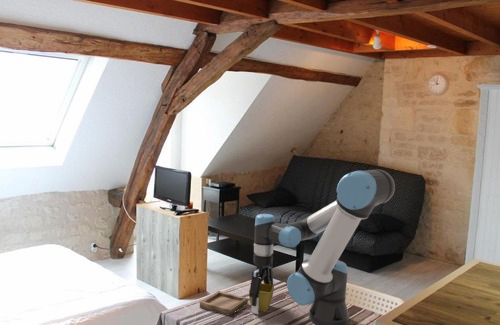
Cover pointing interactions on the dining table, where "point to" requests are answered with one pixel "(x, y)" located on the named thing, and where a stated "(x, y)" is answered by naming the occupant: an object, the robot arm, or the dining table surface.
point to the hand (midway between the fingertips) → (260, 308)
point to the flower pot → (264, 296)
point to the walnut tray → (223, 302)
